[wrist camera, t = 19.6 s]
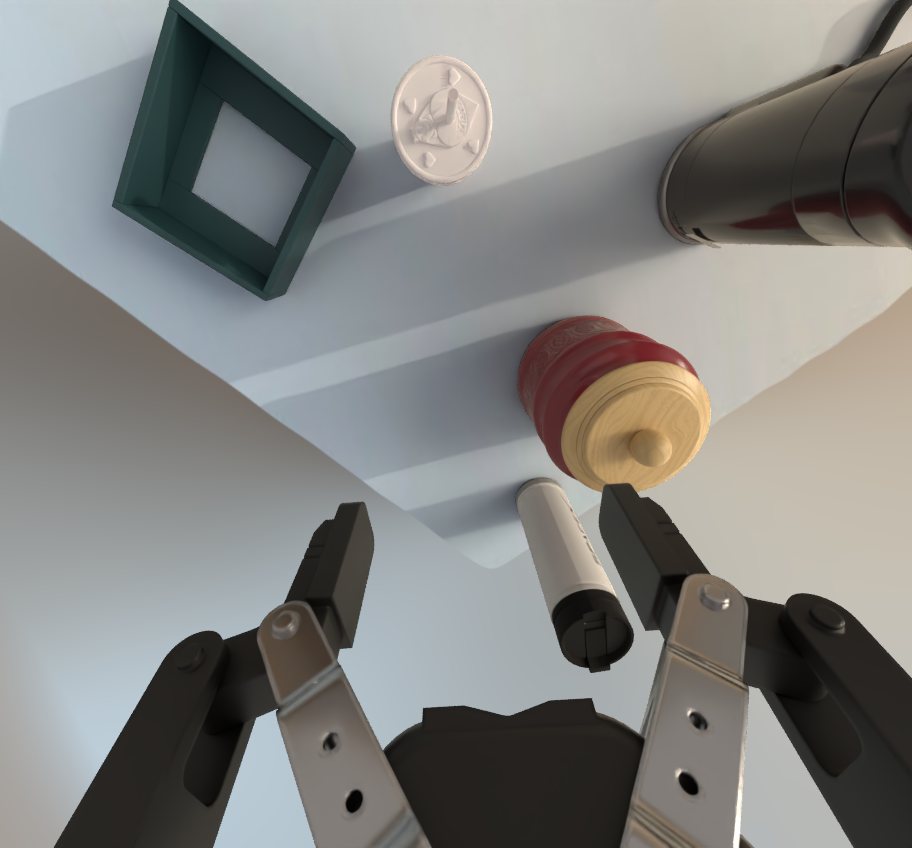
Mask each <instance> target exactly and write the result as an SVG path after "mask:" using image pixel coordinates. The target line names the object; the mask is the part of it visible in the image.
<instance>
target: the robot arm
mask: <svg viewBox="0 0 912 848" xmlns="http://www.w3.org/2000/svg"><path fill="white" fill-rule="evenodd" d="M911 5H912V0H898V1H897V2H896V3H895V5H894V6H893V7H892V8H891V10H890V11H889V13H888V14H887V16H886V17H885V19H884V20H883V22H882V24H881V25H880V27H879V29H878V31H877V32H876V34H875V36H874V38H873V40H872V41H871V43H870V45H869V46H868V48H867V50H866V51H865V52H864V54H863V55H862V56H861V57H860V58H858V59H856V60H855V61H853V62H852V63H851V64H850V65H849V66H848V67H846V66H845V65H843V64H836V65H833V66H830V67H828V68H826V69H823V70H821V71H819V72H816V73H814V74H812V75H809V76H807V77H805V78H803V79H800V80H798V81H796V82H793V83H791V84H789V85H786V86H784V87H782V88H779V89H777V90H775V91H773V92H770V93H768V94H766V95H763V96H761V97H759V98H756V99H754V100H752V101H749V102H747V103H745V104H743V105H740V106H738V107H736V108H733V109H731V110H730V111H729V112H728V113H727V115H726V116H725V117H724V118H722V119H719V120H717V121H714V122H712V123H709V124H707V125H705V126H703V127H701V128H699V129H698V130H696V131H695V132H693V133H692V134H691V135H690V136H689V137H687V138H686V139H685V140H684V141H683V142H682V143H681V145H680V146H679V147H678V148H677V150H676V151H675V152H674V154H673V155H672V157H671V159H670V160H669V162H668V164H667V166H666V168H665V171H664V173H663V176H662V179H661V183H660V188H659V197H658V203H659V212H660V216H661V219H662V222H663V224H664V226H665V227H666V229H667V230H668V231H669V233H670V234H671V235H672V236H674V237H675V238H676V239H678V240H680V241H682V242H685V243H689V244H706V245H708V246H710V247H712V248H721V247H718V246H716V245H714V244H712V243H721V244H767V245H818V246H876V247H907V248H909V249H911V250H912V42H910V43H907V44H905V45H903V46H900V47H898V48H895V49H893V50H891V51H889V52H886V53H884V54H881V55H879V54H880V53H881V51H882V50H883V48H884V47H885V45H886V43H887V42H888V40H889V38H890V37H891V35H892V33H893V31H894V29H895V28H896V26H897V24H898V23H899V21H900V20H901V18H902V17H903V15H904V14H905V12H906V11H907V10H908V9H909V7H910V6H911ZM599 529H600V533H601V536H602V539H603V541H604V543H605V545H606V547H607V549H608V551H609V554H610V556H611V558H612V560H613V562H614V564H615V566H616V568H617V571H618V573H619V575H620V577H621V579H622V581H623V583H624V585H625V588H626V590H627V592H628V594H629V596H630V598H631V601H632V603H633V605H634V607H635V609H636V611H637V613H638V616H639V618H640V620H641V622H642V624H643V626H644V628H645V631H649V630H660V631H661V634H662V636H663V638H664V643H663V647H662V650H661V654H660V658H659V662H658V666H657V670H656V673H655V677H654V681H653V685H652V689H651V693H650V697H649V700H648V704H647V708H646V711H645V715H644V718H643V722H642V725H641V728H640V732H639V734H638V733H637V732H636V731H634V730H633V729H631V728H630V727H628V726H627V725H625V724H624V723H621V722H620V721H618V720H616V719H614V718H611V717H609V716H606V715H604V714H601V713H597V712H596V711H595V708H594V704H593V701H592V698H585V699H570V700H569V699H568V700H551V701H547V702H545V703H542V704H540V705H537V706H535V707H532V708H529V709H527V710H524V711H522V712H519V713H516V714H514V715H511V716H504V715H500V714H496V713H492V712H488V711H484V710H480V709H476V708H472V707H468V706H449V707H432V708H423V718H422V719H423V720H422V722H421V723H418V724H415V725H414V726H412V727H410V728H408V729H406V730H405V731H404V732H402V733H401V734H399V735H398V736H397V737H396V738H395V739H394V740H393V741H391V742H390V743H389V744H388V745H387V746H386V747H385V749H384V750H382V748H381V746H380V744H379V742H378V740H377V738H376V736H375V734H374V732H373V730H372V728H371V726H370V724H369V722H368V720H367V718H366V716H365V713H364V712H363V710H362V707H361V705H360V703H359V702H358V699H357V697H356V695H355V693H354V691H353V689H352V687H351V685H350V683H349V681H348V679H347V678H346V675H345V673H344V671H343V669H342V667H341V665H339V663H338V661H337V658H338V654H339V650H340V649H343V648H352V646H353V641H354V637H355V633H356V629H357V624H358V619H359V615H360V611H361V606H362V601H363V597H364V592H365V588H366V584H367V579H368V575H369V570H370V566H371V561H372V557H373V551H374V536H373V531H372V527H371V523H370V520H369V516H368V512H367V508H366V505H365V503H364V502H353V503H341V504H340V506H339V508H338V510H337V513H336V516H335V518H334V519H332V520H325V521H324V522H323V523H322V524H321V525H320V527H319V528H318V529H317V530H316V531H315V532H314V534H313V536H312V539H311V541H310V543H309V548H307V551H306V553H305V555H304V559H303V560H302V562H301V565H300V567H299V569H298V572H297V574H296V576H295V579H294V581H293V583H292V586H291V589H290V591H289V593H288V596H287V598H286V600H285V602H284V604H282V605H280V606H278V607H277V608H275V609H274V610H272V611H271V612H270V613H269V614H268V615H267V616H266V617H265V618H264V620H263V621H262V623H261V625H260V626H259V627H257V628H255V629H252V630H250V631H247V632H244V633H242V634H239V635H236V636H233V637H230V638H228V639H225V640H223V639H222V637H221V636H220V635H219V634H218V633H217V632H214V631H202V632H199V633H196V634H193V635H191V636H189V637H187V638H186V639H184V640H183V641H181V642H180V643H179V644H177V645H176V646H175V647H174V648H173V649H172V650H171V651H170V652H169V653H168V655H167V656H166V657H165V659H164V660H163V662H162V663H161V665H160V667H159V668H158V670H157V672H156V673H155V675H154V677H153V679H152V680H151V682H150V684H149V685H148V687H147V689H146V691H145V692H144V694H143V696H142V697H141V699H140V701H139V703H138V704H137V706H136V708H135V710H134V711H133V713H132V714H131V716H130V718H129V720H128V721H127V723H126V725H125V726H124V728H123V730H122V732H121V733H120V735H119V737H118V738H117V740H116V742H115V744H114V745H113V747H112V749H111V750H110V752H109V754H108V756H107V757H106V759H105V761H104V763H103V764H102V766H101V767H100V769H99V771H98V773H97V774H96V776H95V778H94V780H93V781H92V783H91V785H90V786H89V788H88V790H87V792H86V793H85V795H84V797H83V799H82V800H81V802H80V804H79V805H78V807H77V809H76V810H75V812H74V814H73V815H72V817H71V819H70V821H69V822H68V824H67V826H66V827H65V829H64V831H63V832H62V834H61V836H60V838H59V839H58V841H57V843H56V845H55V846H54V848H213V846H214V843H215V840H216V837H217V834H218V831H219V827H220V824H221V822H222V819H223V816H224V813H225V810H226V807H227V804H228V801H229V798H230V794H231V792H232V788H233V785H234V783H235V780H236V776H237V774H238V771H239V767H240V764H241V762H242V758H243V755H244V753H245V749H246V747H247V744H248V741H249V738H250V734H251V732H252V729H253V726H254V723H255V720H256V718H257V717H259V716H261V715H264V714H266V713H268V712H271V711H273V710H275V709H278V710H277V711H276V716H277V721H278V724H279V728H280V731H281V734H282V738H283V741H284V744H285V747H286V751H287V754H288V757H289V761H290V764H291V767H292V771H293V774H294V777H295V780H296V784H297V787H298V790H299V793H300V797H301V800H302V803H303V807H304V810H305V813H306V817H307V820H308V823H309V826H310V830H311V833H312V836H313V839H314V843H315V846H316V848H754V847H753V846H752V845H751V844H750V843H749V842H748V841H747V840H746V839H745V838H744V837H743V836H742V835H741V834H740V823H741V809H742V793H743V779H744V778H743V777H744V763H745V749H746V734H747V719H748V703H749V687H748V686H752V687H755V688H759V689H760V690H761V692H762V694H763V695H764V697H765V699H766V701H767V702H768V704H769V705H770V707H771V709H772V711H773V712H774V714H775V716H776V717H777V719H778V721H779V723H780V724H781V726H782V728H783V729H784V731H785V733H786V734H787V736H788V738H789V739H790V741H791V743H792V744H793V746H794V748H795V749H796V751H797V753H798V755H799V756H800V758H801V760H802V761H803V763H804V765H805V766H806V768H807V770H808V771H809V773H810V775H811V776H812V778H813V780H814V782H815V783H816V785H817V787H818V788H819V790H820V792H821V793H822V795H823V797H824V798H825V800H826V802H827V804H828V805H829V807H830V809H831V810H832V812H833V814H834V815H835V817H836V819H837V820H838V822H839V824H840V825H841V827H842V829H843V831H844V832H845V834H846V836H847V837H848V839H849V841H850V842H851V844H852V845H853V847H854V848H912V678H911V677H910V676H909V675H908V674H907V673H906V672H905V670H904V669H903V668H902V667H901V666H900V665H899V664H898V663H897V662H896V661H895V660H894V659H893V658H892V657H891V655H890V654H889V653H887V651H886V650H885V649H884V648H883V647H882V646H881V645H880V644H879V643H878V641H877V640H876V639H875V638H874V637H873V636H872V635H871V634H870V633H869V632H868V631H867V630H866V629H865V627H864V626H863V625H862V624H861V623H860V622H859V621H858V620H857V619H856V618H855V617H854V616H853V615H852V614H851V613H849V612H848V611H847V610H845V609H844V608H843V607H841V606H839V605H838V604H836V603H834V602H832V601H830V600H828V599H826V598H823V597H820V596H817V595H812V594H805V593H801V594H795V595H792V596H791V597H790V598H789V599H788V600H787V602H786V604H785V605H782V604H777V603H772V602H767V601H761V600H757V599H752V598H748V597H745V596H743V595H742V594H741V593H740V592H739V591H738V590H737V589H736V588H735V587H734V586H733V585H731V584H730V583H728V582H726V581H725V580H723V579H721V578H719V577H716V576H713V575H711V574H710V573H709V571H708V570H707V569H706V567H705V566H704V565H703V563H702V562H701V560H700V559H699V558H698V556H697V555H696V554H695V552H694V551H693V549H692V548H691V546H690V545H689V544H688V542H687V541H686V540H685V538H684V537H683V535H682V534H680V533H679V530H678V528H677V527H676V526H675V525H674V523H672V520H671V519H670V517H669V516H668V515H667V514H666V512H665V510H664V509H663V508H662V507H661V506H660V505H658V504H657V503H655V502H654V501H653V500H651V499H650V498H649V497H645V498H640V497H639V495H638V494H637V492H636V491H635V489H634V488H633V486H632V485H631V484H630V483H617V484H606V485H604V487H603V492H602V499H601V506H600V514H599Z"/></svg>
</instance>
